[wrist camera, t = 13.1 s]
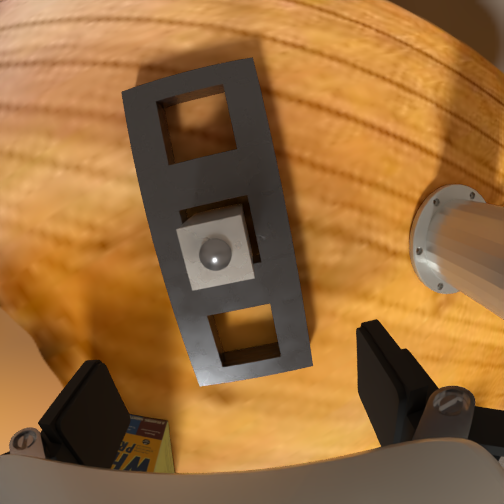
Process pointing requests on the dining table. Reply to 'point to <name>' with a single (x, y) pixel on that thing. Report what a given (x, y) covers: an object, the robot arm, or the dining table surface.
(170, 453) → the protein box
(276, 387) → the dining table surface
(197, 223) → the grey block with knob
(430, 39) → the dining table surface
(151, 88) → the rail
